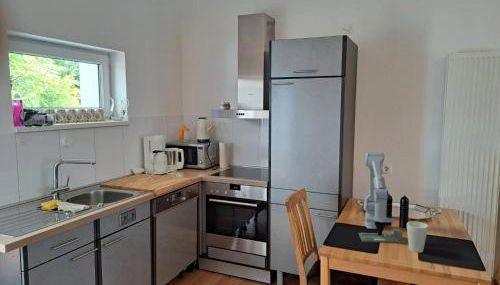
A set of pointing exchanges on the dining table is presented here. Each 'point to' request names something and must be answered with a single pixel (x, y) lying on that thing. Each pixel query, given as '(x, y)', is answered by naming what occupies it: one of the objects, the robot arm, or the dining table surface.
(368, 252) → the dining table surface
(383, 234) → the gauge follower
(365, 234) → the gauge base
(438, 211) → the dining table surface
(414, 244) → the foam cup
